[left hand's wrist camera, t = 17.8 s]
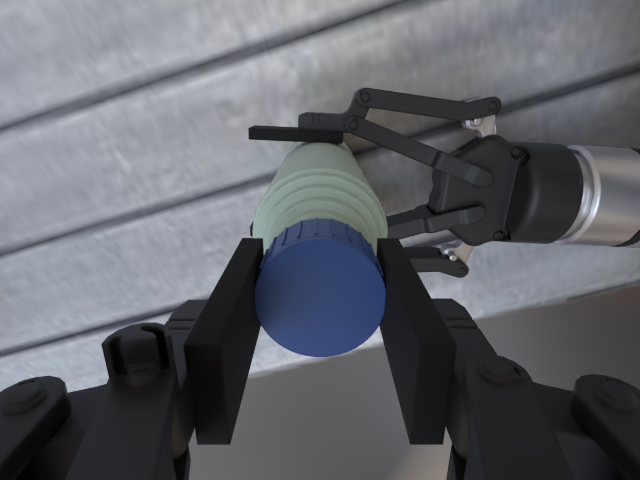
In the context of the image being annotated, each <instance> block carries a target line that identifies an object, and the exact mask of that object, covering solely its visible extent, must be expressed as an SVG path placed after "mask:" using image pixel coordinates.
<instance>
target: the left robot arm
mask: <svg viewBox="0 0 640 480" xmlns="http://www.w3.org/2000/svg"><path fill="white" fill-rule="evenodd" d="M376 256H377V258H378V260H379V263H380V266H381V269H382V272H383V274H384V278H383V280H384V283H385V288H386V296H385V310H384V316H383V318H382V321H381V322H380V324H379V326H380V330H381V334H382V338H383V341H384V345H385V349H386V353H387V357H388V361H389V365H390V368H391V372H392V376H393V380H394V384H395V388H396V392H397V395H398V399H399V403H400V407H401V411H402V415H403V419H404V422H405V426H406V430H407V434H408V438H409V442H410V444H443V439H444V433H445V426H446V428H447V431H448V433H449V436H450V438H451V441H452V447H451V453H450V459H449V466H448V472H447V479H446V480H640V390H639V389H638V388H636V387H634V386H632V385H630V384H628V383H626V382H624V381H622V380H619V379H616V378H612V377H609V376H604V375H595V374H591V375H585V376H581V377H580V378H579V379H578V380H577V381H576V382H575V386H574V390H573V391H569V390H565V389H560V388H555V387H550V386H546V385H542V384H538V383H535V382H533V381H532V379H531V377H530V376H529V374H528V373H527V372H526V370H525V369H524V368H522V367H521V366H520V365H518V364H517V363H516V362H514V361H512V360H509V359H507V358H505V357H502V356H498V355H497V354H496V352H495V351H494V349H493V348H492V346H491V345H490V343H489V342H488V341H487V339H486V338H485V336H484V335H483V333H482V332H481V330H480V329H478V326H477V325H476V323H475V322H474V320H472V317H471V316H470V314H469V313H468V312H467V310H466V309H465V307H463V306H462V305H460V304H459V303H457V302H456V301H454V300H453V299H431V297H430V295H429V294H428V292H427V290H426V288H425V286H424V285H423V283H422V281H421V279H420V277H419V275H418V274H417V272H416V270H415V268H414V266H413V265H412V263H411V261H410V259H409V257H408V256H407V254H406V252H405V250H404V248H403V247H402V245H401V243H400V241H399V239H398V238H377V252H376ZM263 257H264V247H263V238H242V240H241V242H240V243H239V245H238V247H237V249H236V251H235V252H234V254H233V256H232V258H231V260H230V261H229V263H228V265H227V267H226V269H225V271H224V272H223V274H222V276H221V278H220V280H219V281H218V283H217V285H216V287H215V289H214V290H213V292H212V294H211V296H210V298H209V299H208V300H188V301H186V302H185V303H183V304H182V305H181V306H179V307H178V308H176V309H175V311H174V312H173V313H172V315H171V316H170V318H169V321H167V322H166V324H165V325H163V324H159V323H140V324H135V325H130V326H128V327H125V328H122V329H120V330H118V331H116V332H115V333H113V334H111V335H110V336H108V337H107V338H106V340H105V341H104V342H103V343H102V349H103V353H104V357H105V362H106V366H107V370H108V375H109V380H108V382H107V384H104V385H101V386H97V387H93V388H88V389H84V390H79V391H74V392H70V393H68V392H67V388H66V385H65V382H64V381H62V380H61V379H60V378H58V377H52V376H43V377H35V378H31V379H28V380H24V381H21V382H18V383H17V384H15V385H12V386H10V387H8V388H6V389H4V390H3V391H2V392H0V480H188V479H189V470H190V453H189V447H188V444H189V441H190V438H191V436H192V433H193V431H194V428H195V431H196V438H197V444H202V445H203V444H205V445H206V444H230V442H231V439H232V435H233V431H234V427H235V423H236V419H237V416H238V412H239V408H240V404H241V400H242V396H243V392H244V389H245V385H246V381H247V377H248V373H249V369H250V366H251V362H252V358H253V354H254V350H255V346H256V342H257V339H258V335H259V331H260V327H261V323H260V322H259V320H258V317H257V314H256V307H255V285H256V281H257V279H258V276H259V273H260V270H259V268H260V265H261V262H262V260H263Z"/></svg>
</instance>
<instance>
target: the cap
mask: <svg viewBox="0 0 640 480" xmlns="http://www.w3.org/2000/svg"><path fill="white" fill-rule="evenodd" d="M259 270H260V273H259V276H258V279H257V281H256V285H255V307H256V314H257V317H258V320H259V322H260V323H261V325H262V327H263V328H264V330H265V331H266V333H267V334H268V335H269V336H270V337H271V338H272V339H273V340H274V341H276V342H277V343H278V344H279V345H281V346H283V347H284V348H286V349H288V350H290V351H292V352H295V353H298V354H301V355H306V356H313V357H328V356H335V355H339V354H342V353H345V352H348V351H350V350H352V349H355V348H356V347H358V346H359V345H361V344H362V343H364V342H365V341H366V340H367V339H368V338H369V337H370V336H371V335H372V334H373V333H374V332H375V330H376V329H377V328H378V326H379V324H380V322H381V321H382V318H383V316H384V310H385V296H386V288H385V283H384V280H383V278H384V274H383V272H382V269H381V266H380V263H379V260H378V258H377V256H375V253H374V250H373V247H372V245H371V243H368V241H367V240H366V239H365V238H364V237H363V236H362V233H361V232H358V231H357V230H355V229H354V228H352V227H351V226H349V224H345V223H342V222H340V221H336V220H334V219H319V218H315V219H309V220H305V221H302V220H301V221H299V222H298V223H296V224H293V225H292V226H290V227H286V228H285V230H284V231H282V232H281V233H280V234H279V235H278V236H277V237H274V239H273V242H272V243H271V245H270V247H269V248H268V249H266V251H265V254H264V257H263V260H262V262H261V265H260V268H259Z"/></svg>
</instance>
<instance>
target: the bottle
mask: <svg viewBox="0 0 640 480" xmlns="http://www.w3.org/2000/svg"><path fill="white" fill-rule="evenodd" d="M315 218H319V219H334V220H336V221H340V222H342V223H345V224H349V226H351V227H352V228H354V229H355V230H357V231H358V232H361V233H362V236H363V237H364V238H365V239H366V240H367V241H368V243H371V245H372V247H373V250H374V253H375V256H376V252H377V238H387V235H388V228H387V220H386V215H385V212H384V210H383V207H382V205H381V203H380V201H379V199H378V198H377V196H376V194H375V192H374V191H373V189H372V187H371V185H370V184H369V182H368V180H367V179H366V177H365V175H364V173H363V172H362V170H361V168H360V166H359V165H358V163H357V161H356V159H355V158H354V156H353V154H352V152H351V151H350V149H349V148H348V146H347V145H346V144H345V143H344V142H343V143H342V144H336V143H315V142H296V143H295V144H294V145H293V147H292V148H291V149H290V151H289V153H288V155H287V156H286V158H285V160H284V162H283V163H282V165H281V167H280V169H279V170H278V172H277V174H276V175H275V177H274V179H273V181H272V182H271V184H270V186H269V188H268V189H267V191H266V193H265V195H264V196H263V198H262V200H261V202H260V204H259V206H258V208H257V211H256V213H255V217H254V222H253V238H263V247H264V254H265V251H266V249H268V248H269V247H270V245H271V243H272V242H273V239H274V237H277V236H278V235H279V234H280V233H281V232H282V231H284V230H285V228H286V227H290V226H292V225H293V224H296V223H298V222H299V221H301V220H302V221H305V220H309V219H315Z"/></svg>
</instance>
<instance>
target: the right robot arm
mask: <svg viewBox="0 0 640 480" xmlns="http://www.w3.org/2000/svg"><path fill="white" fill-rule="evenodd" d="M369 108H376V109H383V110H390V111H397V112H403V113H410V114H417V115H424V116H431V117H438V118H445V119H452V120H461V123H462V125H463V127H464V128H467V129H471V130H475V131H476V133H477V137H475V138H474V139H472V140H471V141H469V142H467V143H466V144H464V145H463V146H461V147H459V148H458V149H456V150H454V151H453V152H451V153H450V154H447V153H444V152H442V151H440V150H437V149H435V148H432V147H430V146H428V145H425V144H423V143H420V142H418V141H416V140H413V139H411V138H408V137H406V136H404V135H401V134H399V133H396V132H394V131H392V130H389V129H387V128H385V127H382V126H380V125H377V124H375V123H373V122H370V121H368V120H365V117H366V114H367V112H368V110H369ZM500 109H501V101H500V100H499V98H497V97H476V98H472V99H467V100H463V101H453V100H446V99H439V98H432V97H425V96H419V95H412V94H405V93H398V92H391V91H385V90H378V89H371V88H361V89H359V90H357V91H356V92H355V93H354V96H353V99H352V101H351V104H350V106H349V108H348V110H347V111H345V112H344V113H341V114H335V113H314V112H306V113H303V114H300V115H299V122H298V128H297V127H277V126H256V125H255V126H252V127H250V128H249V139H253V140H273V141H294V142H315V143H336V144H342V143H343V133H351V134H353V135H356V136H358V137H361V138H363V139H366V140H368V141H370V142H373V143H375V144H378V145H380V146H383V147H385V148H387V149H390V150H392V151H395V152H397V153H400V154H402V155H405V156H407V157H409V158H412V159H414V160H417V161H419V162H422V163H424V164H426V165H429V166H431V167H433V168H434V169H433V175H432V178H433V189H432V191H431V194H430V196H429V203H428V204H424V205H421V206H418V207H416V208H415V209H413V210H410V211H406V212H403V213H399V214H395V215H392V216H388V217H386V220H387V228H388V235H387V238H398V239H402V238H406V237H410V236H414V235H417V234H421V233H435V232H439V231H442V230H446V229H448V230H449V231H450V232H452V233H453V234H454V235H455V236H456V237H458V238H459V239H458V241H456V242H455V243H453V244H443V245H442V246H441V248H436V247H403V248H404V250H405V252H406V254H407V256H408V257H409V259H410V261H411V263H412V265H413V266H414V268H415V270H416V272H441V273H445V274H448V275H451V276H455V277H459V278H462V277H464V276H466V275H467V274H468V271H469V269H468V267H467V265H466V264H465V263H466V261H467V259H468V257H469V255H470V253H471V251H472V249H473V247H474V246H479V245H481V244H484V243H486V242H490V241H501V242H519V243H542V244H547V243H552V242H553V243H556V244H560V245H591V246H612V247H636V248H640V149H635V148H621V147H603V146H584V145H569V146H564V145H561V144H546V143H525V142H509V141H507V140H505V139H503V138H502V137H501V136H499V135H496V123H495V114H497V113H498V112H499V110H500ZM253 222H254V221H253ZM250 236H253V223H252V225H251V226H250Z"/></svg>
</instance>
